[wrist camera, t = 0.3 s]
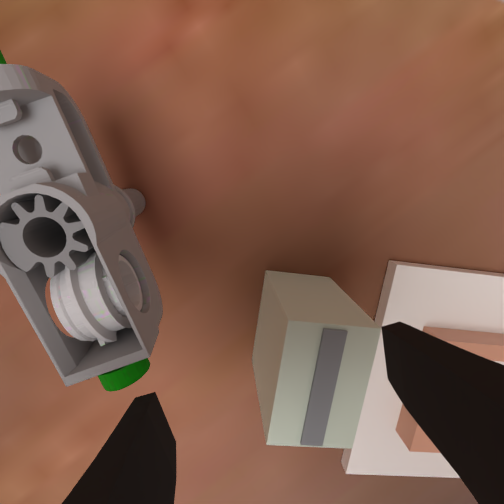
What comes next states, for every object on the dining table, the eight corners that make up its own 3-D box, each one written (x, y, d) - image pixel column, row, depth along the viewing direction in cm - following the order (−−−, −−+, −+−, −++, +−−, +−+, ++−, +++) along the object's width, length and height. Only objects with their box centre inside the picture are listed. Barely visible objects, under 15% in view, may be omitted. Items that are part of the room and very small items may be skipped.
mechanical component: (117, 98, 18) (-7, 15, 8) (190, 276, 20) (164, 377, 11) (62, 117, 18) (-129, 57, 8) (142, 293, 20) (73, 410, 11)
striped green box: (311, 363, 22) (353, 451, 16) (251, 359, 22) (266, 447, 15) (329, 276, 21) (383, 330, 14) (265, 269, 21) (289, 321, 14)
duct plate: (527, 469, 26) (563, 504, 24) (340, 461, 25) (356, 498, 22) (599, 284, 23) (650, 300, 20) (388, 260, 21) (413, 273, 18)
